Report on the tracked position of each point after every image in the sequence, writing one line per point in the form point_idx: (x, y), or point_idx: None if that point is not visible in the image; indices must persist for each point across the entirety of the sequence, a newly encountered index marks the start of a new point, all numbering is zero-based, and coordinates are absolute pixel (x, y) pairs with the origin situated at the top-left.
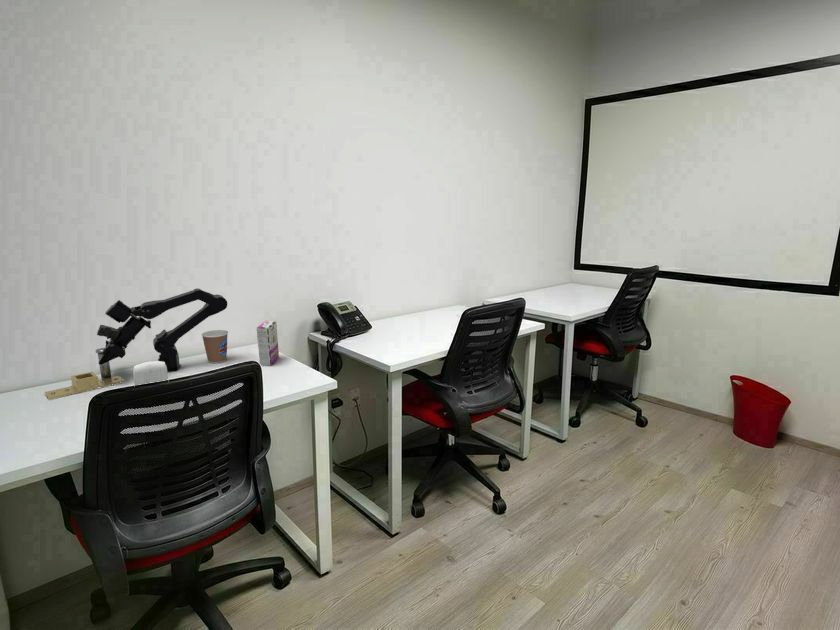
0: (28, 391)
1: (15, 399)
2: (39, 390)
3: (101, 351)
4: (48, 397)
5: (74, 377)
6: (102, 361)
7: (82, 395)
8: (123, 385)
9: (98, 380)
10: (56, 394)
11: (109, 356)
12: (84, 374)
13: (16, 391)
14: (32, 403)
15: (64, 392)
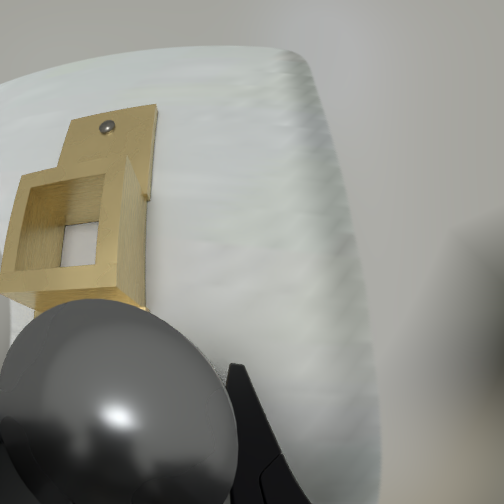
0: (246, 77)
1: (181, 57)
2: (230, 99)
3: (5, 379)
4: (78, 119)
5: (81, 170)
6: None
7: None
8: None
9: None
10: (82, 138)
11: None
12: (99, 228)
13: (275, 60)
14: (91, 92)
15: (77, 162)
